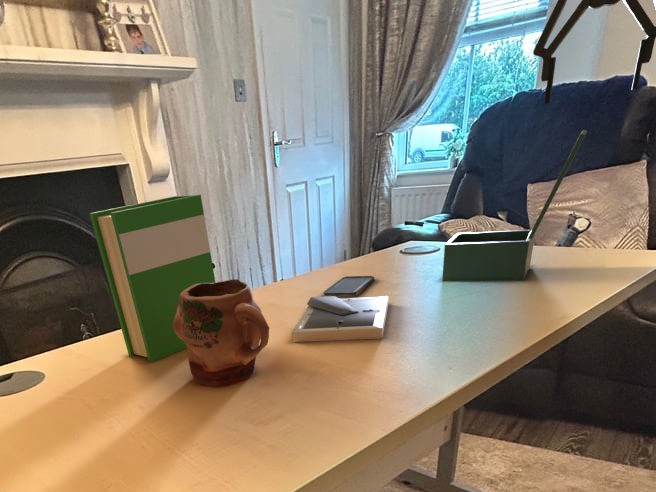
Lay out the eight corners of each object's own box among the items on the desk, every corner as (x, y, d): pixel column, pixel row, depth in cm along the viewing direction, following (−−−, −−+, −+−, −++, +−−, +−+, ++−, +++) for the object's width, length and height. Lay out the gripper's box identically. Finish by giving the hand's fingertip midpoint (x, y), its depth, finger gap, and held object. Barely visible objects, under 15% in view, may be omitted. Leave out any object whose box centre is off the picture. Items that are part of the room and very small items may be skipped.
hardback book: (151, 363, 95) (113, 212, 81) (129, 357, 99) (89, 213, 86) (224, 334, 104) (200, 194, 91) (200, 330, 109) (174, 196, 95)
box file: (442, 282, 117) (444, 244, 113) (453, 269, 126) (456, 233, 122) (523, 282, 110) (529, 241, 106) (529, 268, 119) (535, 229, 115)
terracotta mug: (304, 375, 82) (296, 280, 74) (251, 405, 75) (236, 304, 67) (216, 357, 94) (201, 273, 86) (163, 382, 87) (142, 293, 79)
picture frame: (311, 310, 111) (293, 343, 95) (311, 296, 109) (291, 327, 93) (388, 306, 107) (382, 340, 91) (388, 291, 106) (382, 323, 89)
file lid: (580, 133, 93) (585, 134, 93) (583, 129, 102) (587, 131, 102) (527, 238, 106) (531, 239, 105) (534, 226, 114) (537, 227, 114)
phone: (375, 275, 125) (355, 292, 114) (375, 280, 125) (355, 298, 115) (343, 276, 128) (321, 292, 117) (344, 281, 129) (321, 298, 118)
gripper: (527, -54, 86) (511, 109, 98) (720, -109, 75) (675, 82, 87) (532, -45, 91) (516, 108, 103) (713, -96, 80) (671, 82, 92)
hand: (589, 96), depth 95 cm, fingers open, 13 cm apart
